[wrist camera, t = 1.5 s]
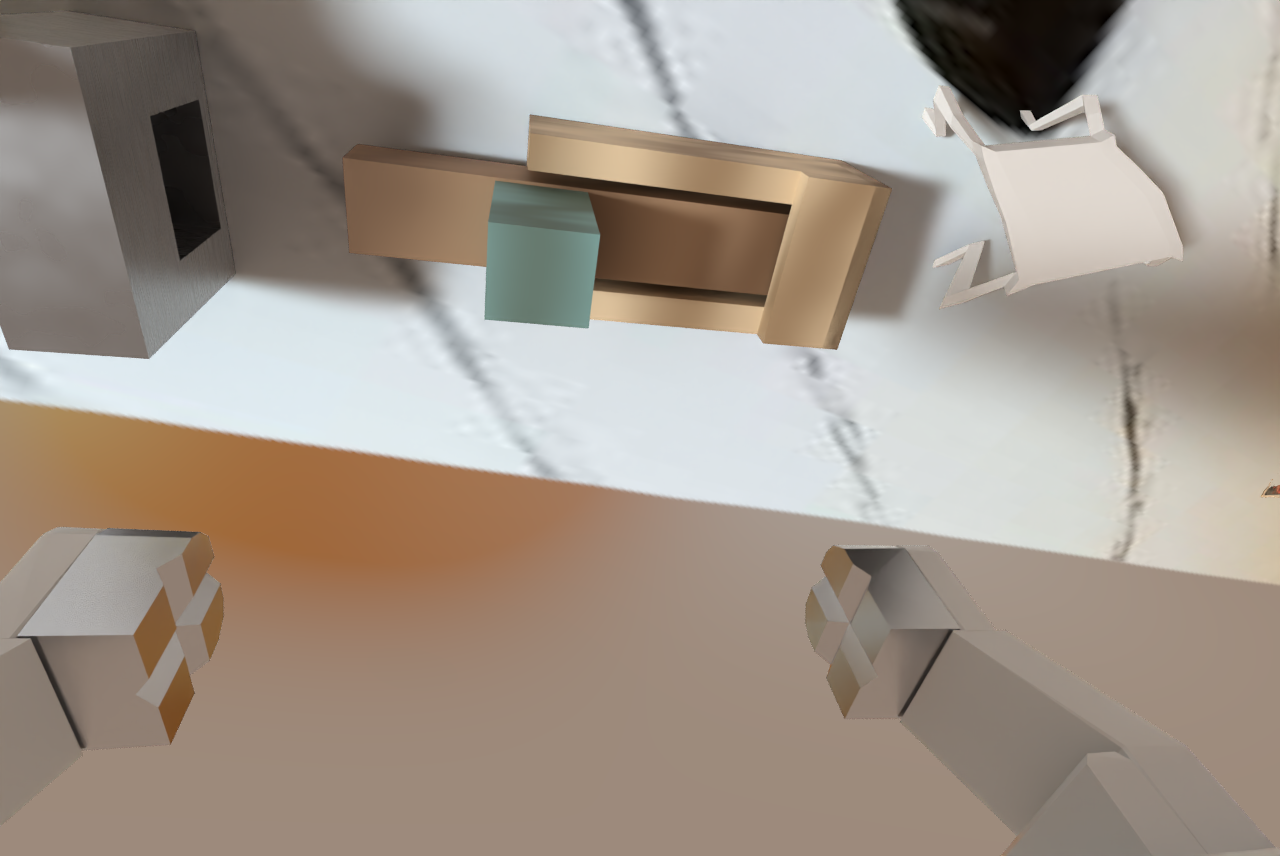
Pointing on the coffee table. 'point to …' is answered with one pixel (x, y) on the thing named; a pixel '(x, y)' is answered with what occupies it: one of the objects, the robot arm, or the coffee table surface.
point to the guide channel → (815, 187)
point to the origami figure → (1059, 202)
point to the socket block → (105, 185)
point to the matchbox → (1272, 491)
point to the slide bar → (554, 230)
